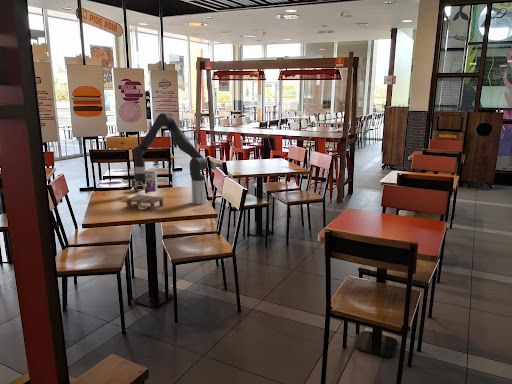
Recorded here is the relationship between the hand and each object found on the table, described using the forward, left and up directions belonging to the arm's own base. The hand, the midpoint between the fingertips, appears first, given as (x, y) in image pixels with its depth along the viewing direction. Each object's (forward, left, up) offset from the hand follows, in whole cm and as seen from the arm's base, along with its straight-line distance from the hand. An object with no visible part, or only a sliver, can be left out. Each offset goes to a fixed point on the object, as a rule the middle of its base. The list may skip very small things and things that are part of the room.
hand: (141, 192), depth 311 cm
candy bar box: (+4, -19, -3) cm, 19 cm away
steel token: (-20, +31, -3) cm, 37 cm away
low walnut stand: (-20, +27, -2) cm, 34 cm away
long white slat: (0, +6, -3) cm, 6 cm away
